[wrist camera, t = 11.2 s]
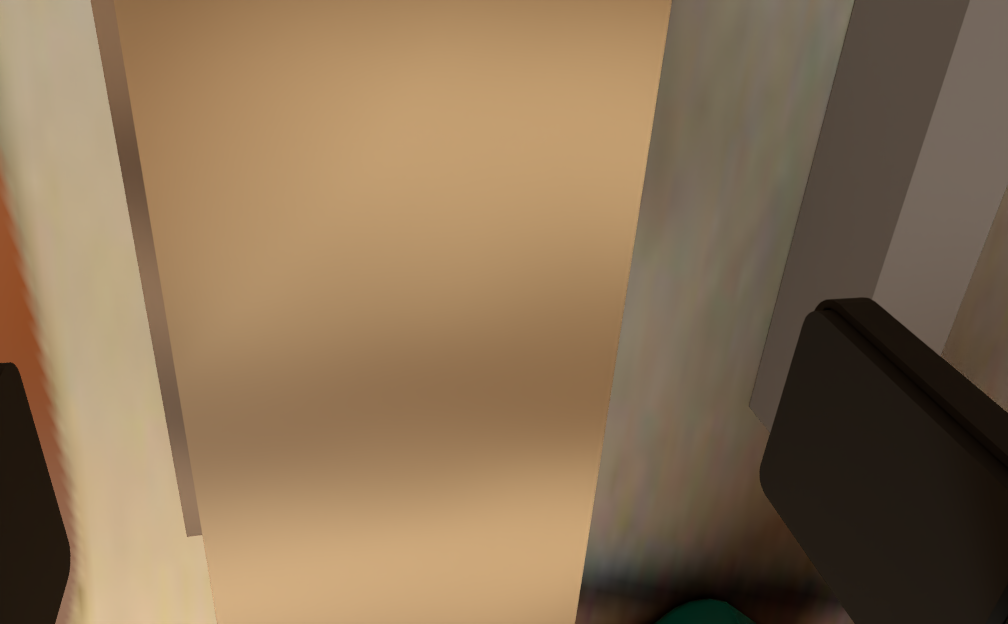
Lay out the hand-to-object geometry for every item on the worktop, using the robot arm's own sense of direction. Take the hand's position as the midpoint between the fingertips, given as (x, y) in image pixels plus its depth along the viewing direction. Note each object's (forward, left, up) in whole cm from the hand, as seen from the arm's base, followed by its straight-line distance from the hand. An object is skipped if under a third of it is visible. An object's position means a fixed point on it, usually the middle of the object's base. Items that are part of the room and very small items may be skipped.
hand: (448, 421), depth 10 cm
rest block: (0, +15, -12) cm, 19 cm away
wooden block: (0, 0, -4) cm, 4 cm away
